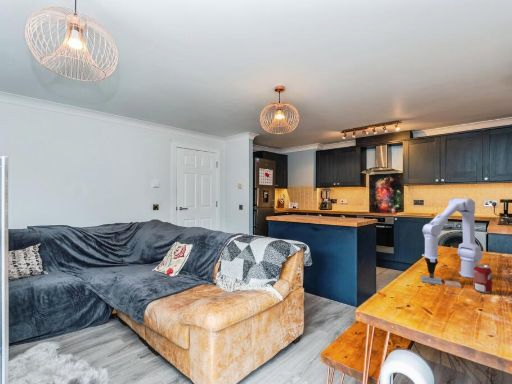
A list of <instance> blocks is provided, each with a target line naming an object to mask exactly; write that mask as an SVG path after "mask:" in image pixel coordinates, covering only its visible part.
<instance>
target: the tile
mask: <svg viewBox="0 0 512 384" xmlns="http://www.w3.org/2000/svg"><path fill="white" fill-rule="evenodd" d="M443 282H444V284H445V286H446V287H448V288H449V287H450V288H457V289H462V284H461V283H460V281H458V280H457V281H456V280H446V279H444V281H443Z"/></svg>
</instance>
